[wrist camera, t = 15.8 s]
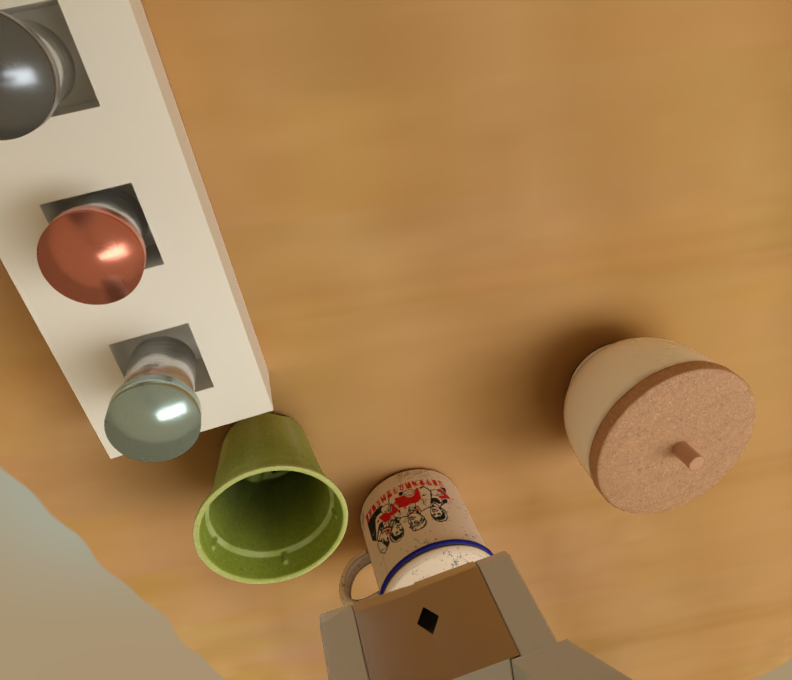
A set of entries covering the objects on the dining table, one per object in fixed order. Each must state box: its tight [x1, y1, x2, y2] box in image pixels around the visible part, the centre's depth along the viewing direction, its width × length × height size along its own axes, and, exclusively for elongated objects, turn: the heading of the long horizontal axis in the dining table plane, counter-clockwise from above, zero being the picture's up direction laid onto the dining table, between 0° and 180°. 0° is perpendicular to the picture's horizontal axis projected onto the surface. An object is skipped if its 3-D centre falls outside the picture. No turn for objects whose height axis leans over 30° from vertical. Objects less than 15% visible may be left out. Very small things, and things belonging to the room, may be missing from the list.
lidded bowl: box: [564, 337, 755, 514], centre depth 46 cm, size 13×13×11 cm
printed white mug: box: [339, 469, 493, 606], centre depth 46 cm, size 12×9×12 cm
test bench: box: [0, 0, 273, 459], centre depth 33 cm, size 26×10×5 cm, turn 11°
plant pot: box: [193, 412, 348, 584], centre depth 41 cm, size 9×9×9 cm
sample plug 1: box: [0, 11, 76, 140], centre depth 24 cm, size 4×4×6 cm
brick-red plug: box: [37, 188, 148, 305], centre depth 30 cm, size 4×4×6 cm
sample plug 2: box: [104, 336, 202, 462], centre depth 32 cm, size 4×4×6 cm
